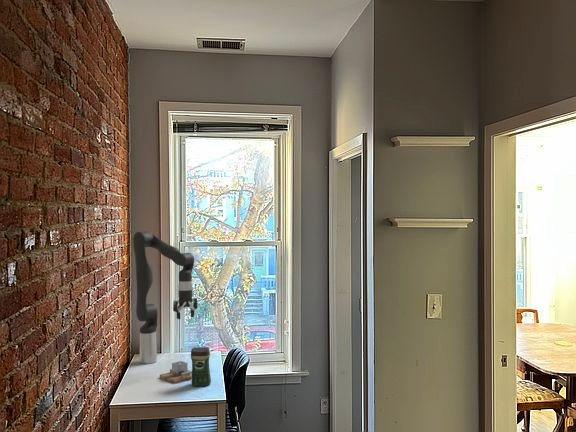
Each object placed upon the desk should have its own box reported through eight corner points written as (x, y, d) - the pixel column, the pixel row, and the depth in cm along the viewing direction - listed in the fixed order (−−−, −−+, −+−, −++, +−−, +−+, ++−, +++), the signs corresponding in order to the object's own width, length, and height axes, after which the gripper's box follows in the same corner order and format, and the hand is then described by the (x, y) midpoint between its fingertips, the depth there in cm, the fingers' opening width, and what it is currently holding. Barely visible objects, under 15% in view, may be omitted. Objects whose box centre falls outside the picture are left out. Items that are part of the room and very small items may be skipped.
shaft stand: (159, 377, 295) (159, 363, 295) (184, 371, 306) (184, 357, 305) (175, 383, 284) (174, 368, 284) (200, 377, 295) (199, 363, 294)
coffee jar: (211, 382, 286) (211, 345, 286) (209, 386, 278) (208, 349, 278) (192, 382, 286) (192, 345, 286) (189, 387, 279) (189, 349, 278)
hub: (172, 374, 295) (171, 363, 295) (181, 372, 299) (181, 361, 299) (178, 376, 291) (177, 365, 291) (187, 374, 295) (187, 363, 295)
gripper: (192, 287, 321) (192, 315, 322) (170, 289, 312) (170, 318, 312) (199, 288, 316) (200, 317, 316) (177, 291, 306) (177, 320, 306)
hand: (185, 318), depth 314 cm, fingers open, 8 cm apart
